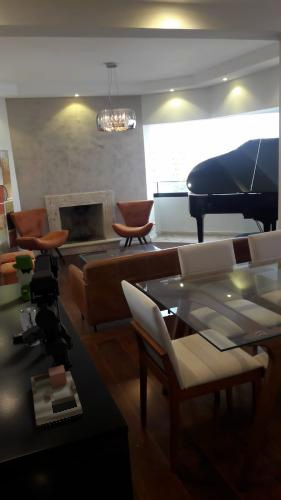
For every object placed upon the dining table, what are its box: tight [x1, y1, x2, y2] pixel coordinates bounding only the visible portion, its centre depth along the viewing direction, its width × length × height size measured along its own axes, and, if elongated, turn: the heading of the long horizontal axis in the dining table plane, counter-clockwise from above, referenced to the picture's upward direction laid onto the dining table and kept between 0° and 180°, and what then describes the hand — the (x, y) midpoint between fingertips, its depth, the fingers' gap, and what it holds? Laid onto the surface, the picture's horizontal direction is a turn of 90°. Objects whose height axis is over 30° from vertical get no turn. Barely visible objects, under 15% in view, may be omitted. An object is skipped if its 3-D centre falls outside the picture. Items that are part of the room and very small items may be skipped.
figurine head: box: [12, 254, 35, 302], centre depth 225 cm, size 22×12×25 cm, turn 10°
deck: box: [30, 371, 84, 426], centre depth 119 cm, size 23×13×4 cm, turn 19°
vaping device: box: [39, 338, 46, 355], centre depth 152 cm, size 3×5×12 cm, turn 135°
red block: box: [48, 365, 67, 387], centre depth 126 cm, size 5×5×4 cm
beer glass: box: [19, 306, 40, 348], centre depth 160 cm, size 7×7×15 cm
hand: (56, 362), depth 118 cm, fingers closed
